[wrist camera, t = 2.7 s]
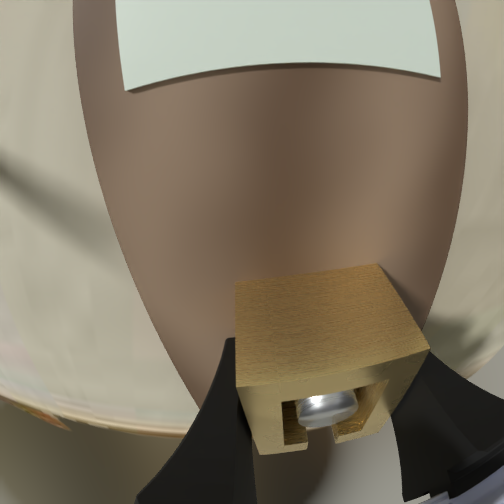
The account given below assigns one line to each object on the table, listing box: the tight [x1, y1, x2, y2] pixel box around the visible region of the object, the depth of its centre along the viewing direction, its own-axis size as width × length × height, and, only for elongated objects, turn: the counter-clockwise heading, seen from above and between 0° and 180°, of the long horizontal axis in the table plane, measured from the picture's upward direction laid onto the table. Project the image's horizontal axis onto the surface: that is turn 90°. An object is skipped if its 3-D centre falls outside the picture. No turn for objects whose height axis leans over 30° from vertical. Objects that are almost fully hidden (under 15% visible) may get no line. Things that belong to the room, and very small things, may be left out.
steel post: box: [295, 389, 358, 427], centre depth 9 cm, size 2×2×4 cm
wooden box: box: [235, 263, 431, 455], centre depth 9 cm, size 5×6×4 cm
